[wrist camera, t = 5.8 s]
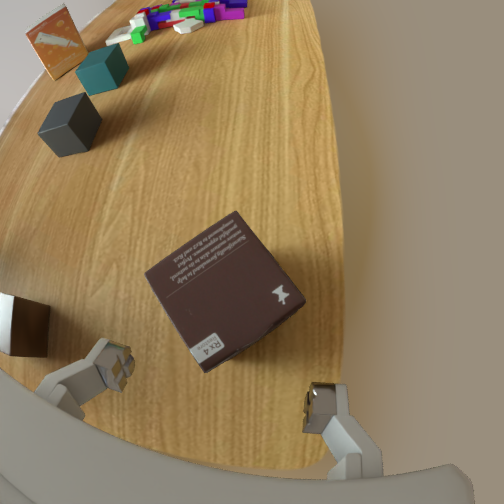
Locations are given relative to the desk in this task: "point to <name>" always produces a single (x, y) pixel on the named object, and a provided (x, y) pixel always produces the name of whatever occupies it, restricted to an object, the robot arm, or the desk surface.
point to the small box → (57, 42)
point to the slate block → (70, 125)
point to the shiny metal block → (23, 327)
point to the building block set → (178, 18)
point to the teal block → (103, 69)
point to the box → (223, 291)
